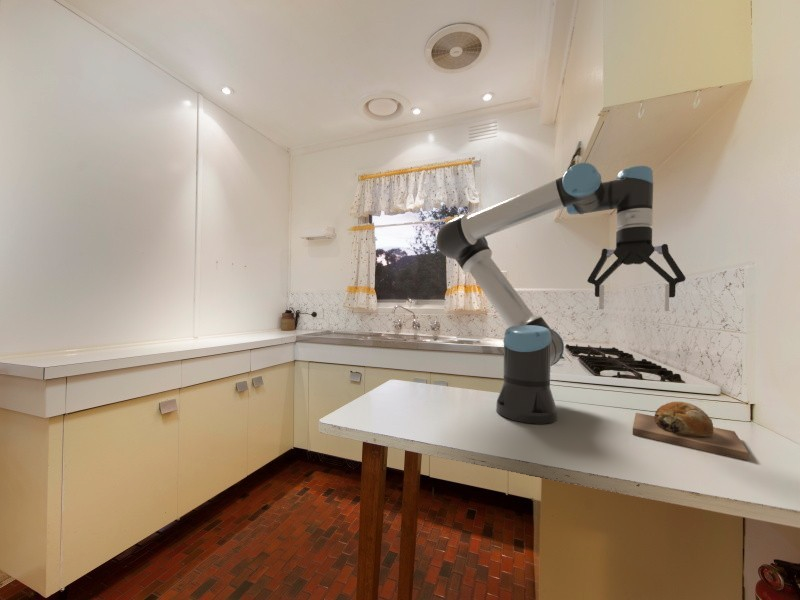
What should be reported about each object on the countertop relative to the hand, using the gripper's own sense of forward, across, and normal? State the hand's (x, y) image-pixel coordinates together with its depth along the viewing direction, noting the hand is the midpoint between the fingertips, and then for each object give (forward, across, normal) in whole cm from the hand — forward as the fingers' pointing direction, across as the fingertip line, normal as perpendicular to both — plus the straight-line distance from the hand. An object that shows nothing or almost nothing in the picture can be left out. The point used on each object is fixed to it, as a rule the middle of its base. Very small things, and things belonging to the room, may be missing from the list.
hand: (632, 310), depth 81 cm
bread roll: (+27, +10, -4) cm, 29 cm away
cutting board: (+28, +10, -4) cm, 30 cm away
